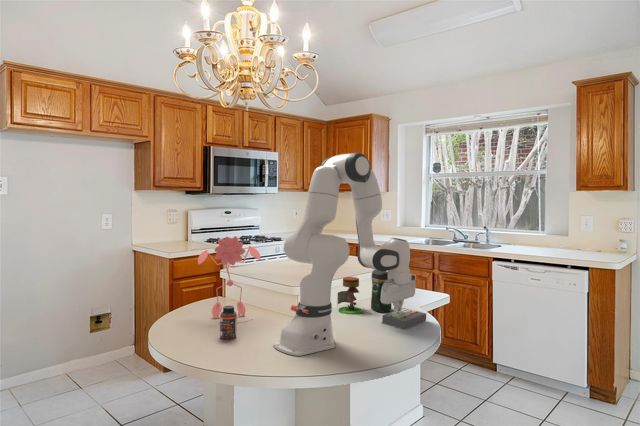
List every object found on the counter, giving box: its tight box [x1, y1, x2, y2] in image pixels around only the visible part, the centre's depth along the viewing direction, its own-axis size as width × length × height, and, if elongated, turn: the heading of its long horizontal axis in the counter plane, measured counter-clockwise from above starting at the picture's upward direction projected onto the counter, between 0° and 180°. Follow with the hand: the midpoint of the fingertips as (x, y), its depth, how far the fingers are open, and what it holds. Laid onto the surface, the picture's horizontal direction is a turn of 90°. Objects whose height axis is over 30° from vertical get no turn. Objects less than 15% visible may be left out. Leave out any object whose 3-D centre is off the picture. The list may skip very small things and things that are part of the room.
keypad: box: [381, 307, 427, 330], centre depth 179 cm, size 16×11×3 cm
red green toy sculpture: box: [336, 276, 363, 315], centre depth 196 cm, size 12×13×15 cm
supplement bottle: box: [219, 305, 238, 340], centre depth 158 cm, size 6×6×11 cm
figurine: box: [197, 235, 261, 325], centre depth 179 cm, size 15×26×35 cm, turn 105°
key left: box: [391, 311, 404, 319], centre depth 176 cm, size 4×4×3 cm
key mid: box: [399, 308, 411, 316], centre depth 179 cm, size 4×4×3 cm
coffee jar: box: [370, 269, 392, 313], centre depth 197 cm, size 10×8×19 cm
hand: (397, 310), depth 176 cm, fingers closed
